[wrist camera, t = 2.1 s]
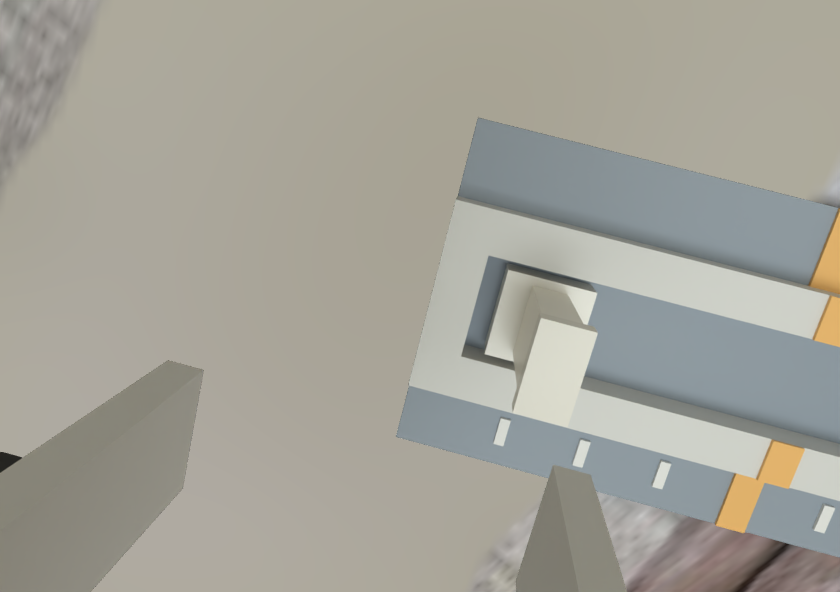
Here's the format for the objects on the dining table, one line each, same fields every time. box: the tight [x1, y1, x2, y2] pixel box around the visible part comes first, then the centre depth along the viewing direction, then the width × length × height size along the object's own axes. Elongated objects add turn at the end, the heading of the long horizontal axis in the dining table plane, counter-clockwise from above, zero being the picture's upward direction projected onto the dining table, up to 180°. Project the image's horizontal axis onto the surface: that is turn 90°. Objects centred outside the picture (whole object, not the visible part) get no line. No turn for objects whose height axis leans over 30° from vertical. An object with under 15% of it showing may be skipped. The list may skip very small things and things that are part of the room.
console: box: [396, 118, 840, 557], centre depth 32 cm, size 16×24×4 cm, turn 76°
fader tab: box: [485, 263, 598, 428], centre depth 28 cm, size 4×4×8 cm
